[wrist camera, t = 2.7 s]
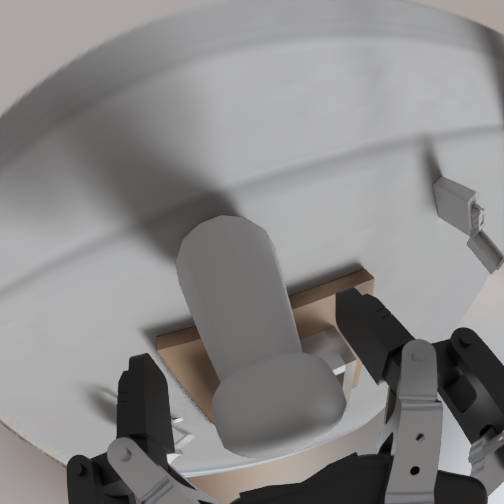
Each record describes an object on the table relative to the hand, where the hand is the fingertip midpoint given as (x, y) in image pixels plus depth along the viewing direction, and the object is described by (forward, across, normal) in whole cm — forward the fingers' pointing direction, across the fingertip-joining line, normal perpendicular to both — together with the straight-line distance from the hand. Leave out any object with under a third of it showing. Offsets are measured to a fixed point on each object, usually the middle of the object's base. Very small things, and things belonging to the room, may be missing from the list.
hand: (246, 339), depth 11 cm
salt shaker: (+8, 0, 0) cm, 8 cm away
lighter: (+8, -22, +3) cm, 23 cm away
